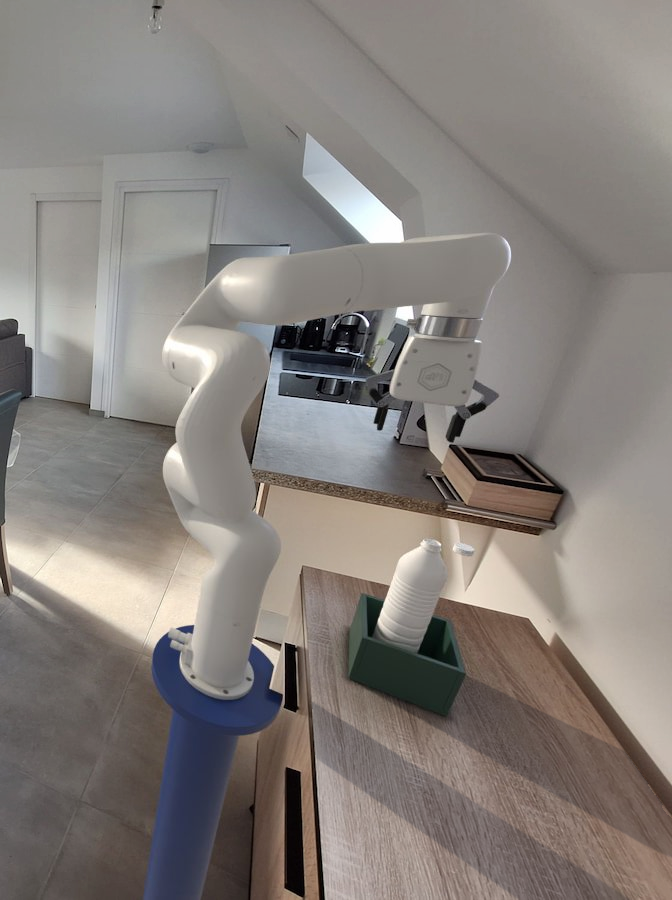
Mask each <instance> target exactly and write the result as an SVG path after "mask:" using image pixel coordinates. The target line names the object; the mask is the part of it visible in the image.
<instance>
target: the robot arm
mask: <svg viewBox="0 0 672 900" xmlns="http://www.w3.org/2000/svg"><path fill="white" fill-rule="evenodd" d="M510 246H511V245H509V242H508V241H507V240H506V238H505V237H503V236H501V235H500V234H498V233H494V232H478V233H477V232H476V233H459V234H458V233H457V234H445V235H444V234H443V235H434V236H421V237H413V238H409V239H406V240H403V241H401V242H369V243H368V242H367V243H356V244H347V245H343V246H336V247H331V248H326V249H319V250H310V251H305V252H304V251H303V252H296V253H291V254H282V255H281V254H279V255H270V256H248V257H247V256H246V257H240V258H237V259H234V260H233V261H231V262H229V263H228V264H226V266H224V267H223V268H222V269H221V270H220V271H219V272H218V273H217V274H216V275H215V276H214V277H213V278H212V279H211V281H210V282H209V283H208V284H207V285H206V287H204V289H203V290H202V291H201V292H200V294H199V295H198V296H197V297H196V299H195V300H194V301H193V302H192V304H191V305H190V306H189V308H188V309H187V310H186V311H185V312H184V313H183V315H182V316H181V317H180V319H179V320H178V321H177V322H176V324H175V325H174V327H173V328H172V329H171V330H170V332H169V333H168V335H167V337H166V339H165V341H164V344H163V346H162V351H161V363H162V366H163V368H164V371H165V372H166V374H168V376H169V377H170V378H171V379H173V380H174V381H176V382H178V383H180V384H182V385H184V386H187V387H190V388H192V389H193V391H192V392H191V394H189V395H190V396H189V397H188V399H187V401H186V403H185V404H184V406H183V408H182V410H181V412H180V414H179V416H178V419H177V421H176V424H175V429H174V430H175V433H174V434H175V441H176V442H175V443H174V444H173V445H171V447H169V449H168V451H167V452H166V455H165V456H164V460H163V463H162V477H163V481H164V484H165V487H166V489H167V492H168V494H169V497H170V499H171V502H172V505H173V507H174V509H175V511H176V514H177V516H178V518H179V521H180V523H181V524H182V526H183V528H184V529H185V531H186V532H188V534H189V535H190V536H191V537H192V538H193V539H194V540H196V541H197V543H199V544H200V545H201V546H202V547H203V548H204V549H205V550H206V551H207V552H208V553H209V554H210V555H211V556H212V558H213V560H214V564H213V566H212V567H211V568H209V569H208V570H207V571H206V572H205V573H204V575H203V577H202V578H201V582H200V588H199V595H198V601H197V607H196V613H195V619H194V624H193V625H194V631H193V634H191V633H187V634H185V633H183V632H180V631H179V630H177V629H176V628H174V627H170V628H169V631H168V632H169V633H168V632H167V633H168V638H171V639H173V640H172V641H171V644H170V647H171V648H173V649H176V650H179V651H181V655H180V662H179V663H180V668H181V671H182V674H183V675H184V677H185V678H186V680H187V681H188V682H189V683H190V684H191V685H192V686H193V687H194V688H195V689H197V690H198V691H200V692H202V693H203V694H206V695H208V696H210V697H213V698H216V699H222V700H234V699H239V698H241V697H243V696H245V695H246V694H248V693H249V691H250V690H251V688H252V685H253V681H254V672H253V669H252V666H251V665H250V663H249V661H248V658H249V654H250V649H251V645H252V644H253V640H254V635H255V631H256V627H257V622H258V619H259V614H260V611H261V610H260V609H261V604H262V600H263V597H264V592H265V589H266V585H267V583H268V580H269V578H270V576H271V573H272V572H273V569H274V568H275V565H276V563H277V562H278V560H279V557H280V555H281V551H282V541H281V538H280V535H279V533H278V532H277V530H276V529H275V527H274V526H273V525H272V524H270V522H269V521H268V520H266V519H265V518H264V517H263V516H261V515H260V514H258V513H257V512H256V511H254V507H255V504H256V501H257V488H256V483H255V478H254V475H253V471H252V468H251V465H250V462H249V458H248V454H247V452H246V448H245V445H244V440H243V435H242V423H243V421H244V417H245V415H246V414H247V412H248V410H249V408H250V406H251V405H252V403H253V402H254V400H255V399H256V397H257V396H258V395H259V393H260V392H261V391H262V389H263V388H264V386H265V385H266V382H267V379H268V378H269V373H270V369H271V356H270V352H269V350H268V348H267V347H266V345H265V343H264V342H262V341H261V340H260V339H259V338H256V337H255V336H253V335H251V334H248V333H246V332H242V331H238V330H237V329H238V328H239V327H240V325H241V324H242V323H243V322H244V323H250V324H251V323H252V324H259V325H265V326H276V327H277V326H286V325H292V324H293V325H294V324H298V323H303V322H308V321H313V320H318V319H322V318H328V317H332V316H333V317H334V316H338V315H343V314H349V313H354V312H369V311H380V310H387V309H396V308H402V307H412V306H422V309H421V313H420V314H419V316H417V317H416V318H407V321H406V325H405V328H407V329H408V328H409V329H412V330H413V331H414V334H412V335H411V334H410V335H408V338H407V339H406V341H405V343H404V345H403V347H402V351H401V353H399V356H398V359H397V362H396V365H395V367H394V369H391V370H387V371H384V372H380V373H377V374H373V375H369V376H367V377H366V378H365V384H366V387H367V391H368V394H369V396H370V397H371V398H372V399H373V401H374V402H375V404H376V405H377V407H376V412H375V416H374V418H373V424H374V425H376V431H383V429H384V426H385V422H386V419H387V416H388V412H389V404H390V403H392V402H394V401H396V400H397V399H398V400H400V401H401V400H402V401H406V402H407V401H408V402H415V403H423V404H430V405H438V406H446V407H453V408H454V409H455V411H456V412H455V413H454V414H453V415H452V416H451V419H450V422H449V424H448V427H447V430H446V433H445V440H446V441H447V442H448V443H451V444H452V443H453V444H454V443H455V439H456V438H460V437H461V435H462V432H463V430H464V427H465V424H466V422H467V420H470V419H471V417H473V416H475V415H477V414H479V413H482V412H484V411H485V410H486V409H487V408H488V407H489V406H491V404H493V403H494V402H495V401H496V400H498V398H500V393H498V392H497V391H495V390H494V389H492V388H491V387H489V386H487V385H486V384H483V383H482V382H480V381H479V380H477V379H476V376H477V373H478V368H479V365H480V361H481V355H482V348H483V347H482V346H483V342H482V341H481V340H479V339H478V340H477V336H478V333H479V331H480V328H481V325H482V322H483V318H484V316H485V313H486V310H487V308H488V304H489V302H490V299H491V296H492V293H493V290H494V288H495V286H496V284H498V283H499V282H500V281H501V279H502V278H504V276H505V274H506V272H507V271H508V269H509V267H510V264H511V260H512V250H511V247H510ZM389 380H390V381H389ZM386 381H389V382H390V383H389V391H387V392H385V393H384V394H382V393H381V392H380V391H379V389H378V386H377V384H378V383H382V382H386ZM473 390H474V391H476V392H477V393H478V394H480V395H482V396H481V398H480V399H479V400H477V401H475V402H474V403H471V404H470V405H468V406H466V404H467V403H468V401H469V399H470V396H471V394H472V391H473ZM174 640H176V641H174ZM177 641H179V642H182V643H184V645H183V644H180V643H179V642H177Z"/></svg>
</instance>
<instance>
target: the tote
mask: <svg viewBox="0 0 672 900" xmlns="http://www.w3.org/2000/svg"><path fill="white" fill-rule="evenodd" d="M384 601H385V599H384V598H380V597H377V596H375V595H370V594H367V593H364V592H361V593H360V597H359V600H358V602H357V606H356V609H355V611H354V615H353V618H352V620H351V624H350V627H349V635H348V637H349V638H348V639H349V641H348V676H347V677H348V679H349V680H351V681H354V682H356V683H359V684H362V685H365V686H368V687H370V688H372V689H375V690H378V691H379V692H383V693H385V694H388V695H390V696H393V697H394V698H398V699H400V700H403V701H405V702H408V703H411V704H414V705H415V706H419V707H420V708H423V709H426V710H429V711H431V712H434V713H436V714H439V715H442V716H444V717H448V715H449V713H450V711H451V709H452V706H453V704H454V701H455V699H456V698H457V695H458V693H459V691H460V689H461V686H462V684H463V682H464V680H465V677H466V675H467V671H466V668H465V665H464V661H463V657H462V654H461V650H460V647H459V643H458V640H457V636H456V632H455V628H454V626H453V622H452V620H451V619H447V618H444V617H441V616H438V615H434V614H432V617H431V621H430V623H429V625H428V627H427V630H426V633H425V635H424V637H423V640H422V643H421V644H420V648H419V650H418V652H417V653H414V652H411V651H408V650H405V649H403V648H400V647H397V646H394V645H391V644H388V643H385V642H382V641H379V640H377V639H374V638H372V636H373V634H374V630H375V627H376V625H377V623H378V619H379V617H380V613H381V610H382V608H383V604H384Z"/></svg>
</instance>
